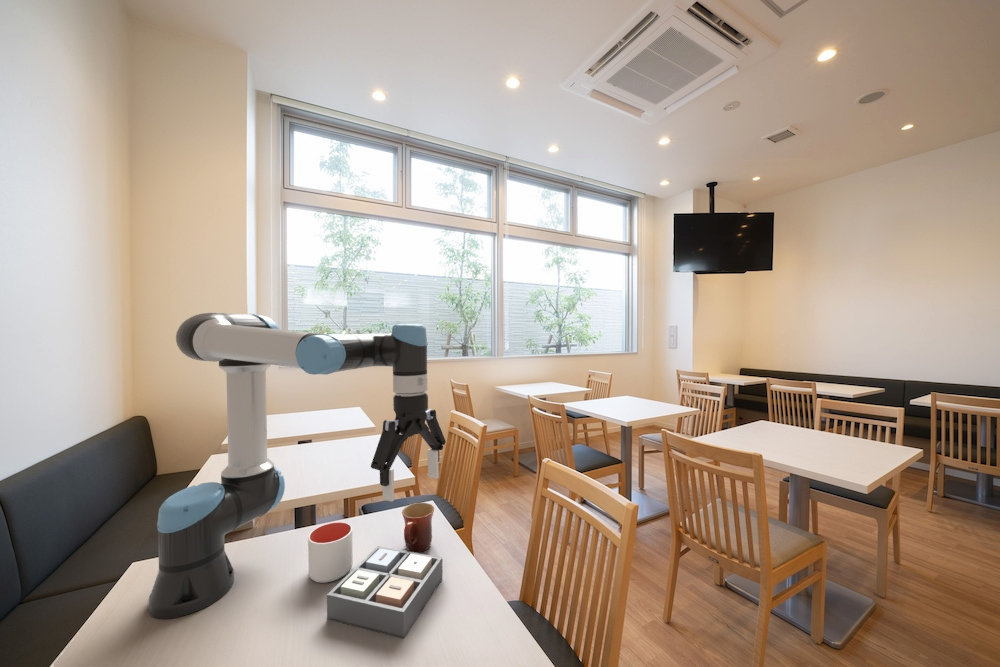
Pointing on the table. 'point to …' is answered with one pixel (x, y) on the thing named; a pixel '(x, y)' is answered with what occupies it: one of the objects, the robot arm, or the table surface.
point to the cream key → (415, 567)
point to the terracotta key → (395, 592)
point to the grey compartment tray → (380, 614)
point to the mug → (418, 526)
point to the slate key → (383, 560)
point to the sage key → (360, 584)
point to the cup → (330, 552)
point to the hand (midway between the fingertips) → (412, 487)
